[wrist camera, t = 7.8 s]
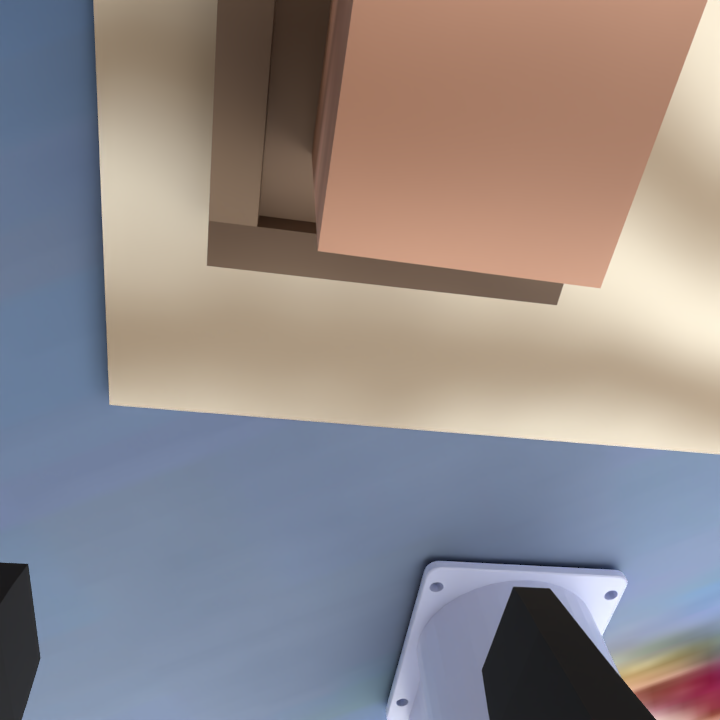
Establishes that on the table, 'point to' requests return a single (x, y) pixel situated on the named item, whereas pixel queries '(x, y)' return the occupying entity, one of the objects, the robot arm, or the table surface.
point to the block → (492, 129)
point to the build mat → (376, 276)
